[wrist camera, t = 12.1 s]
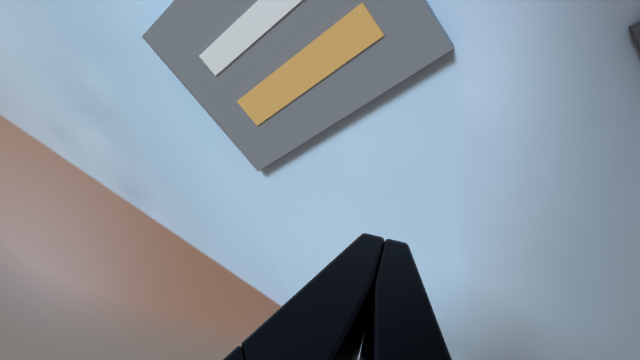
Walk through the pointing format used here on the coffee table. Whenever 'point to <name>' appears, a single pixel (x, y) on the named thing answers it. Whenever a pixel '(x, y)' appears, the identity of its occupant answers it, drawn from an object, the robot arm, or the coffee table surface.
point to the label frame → (636, 33)
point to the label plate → (292, 62)
